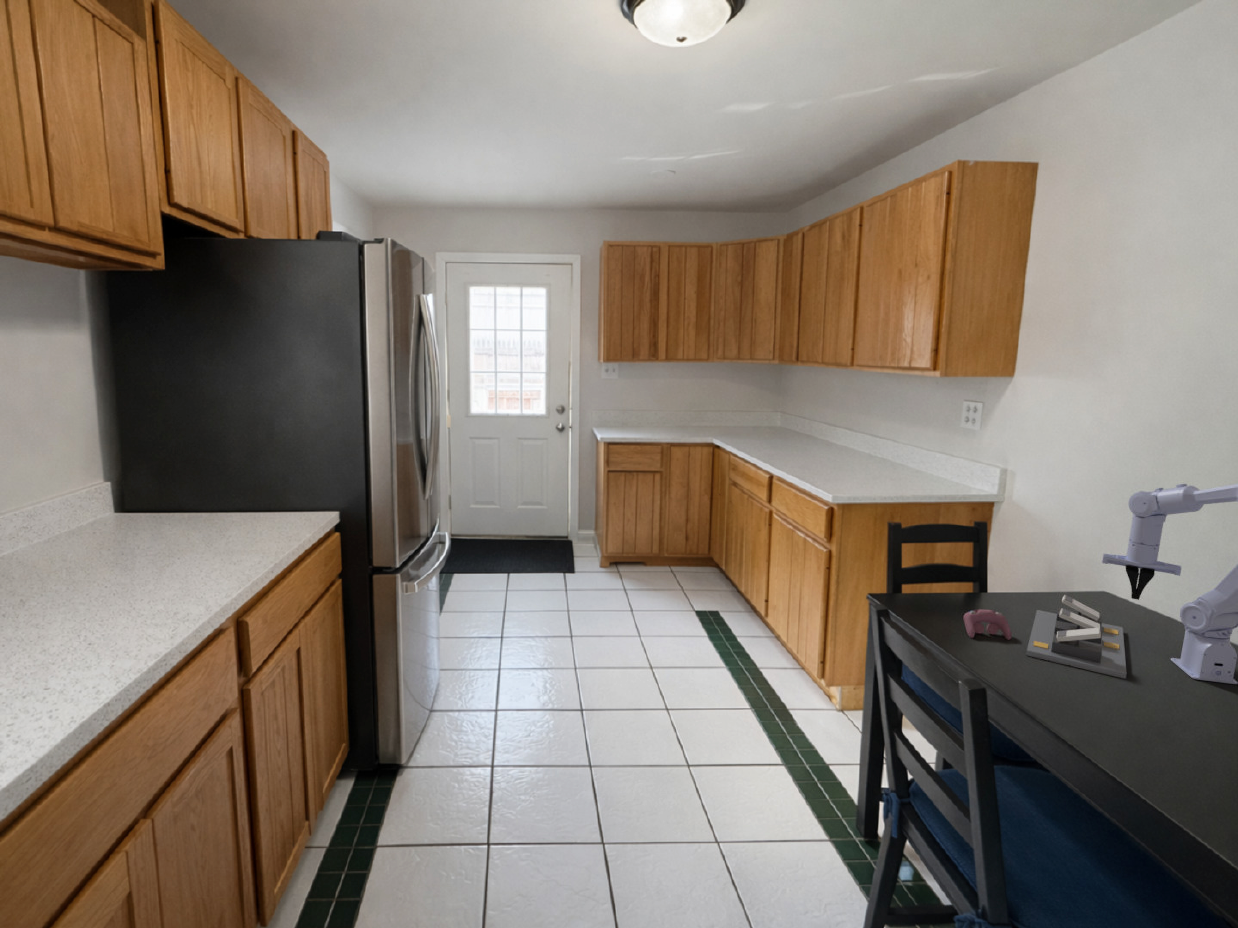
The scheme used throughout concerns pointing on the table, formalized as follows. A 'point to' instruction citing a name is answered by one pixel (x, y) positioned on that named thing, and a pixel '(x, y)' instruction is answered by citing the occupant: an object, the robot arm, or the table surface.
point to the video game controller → (992, 617)
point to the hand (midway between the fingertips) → (1135, 598)
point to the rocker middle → (1078, 619)
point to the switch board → (1107, 653)
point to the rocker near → (1078, 634)
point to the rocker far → (1080, 607)
